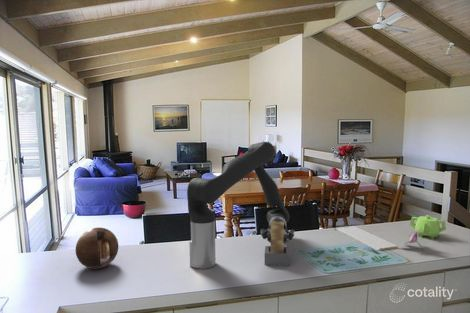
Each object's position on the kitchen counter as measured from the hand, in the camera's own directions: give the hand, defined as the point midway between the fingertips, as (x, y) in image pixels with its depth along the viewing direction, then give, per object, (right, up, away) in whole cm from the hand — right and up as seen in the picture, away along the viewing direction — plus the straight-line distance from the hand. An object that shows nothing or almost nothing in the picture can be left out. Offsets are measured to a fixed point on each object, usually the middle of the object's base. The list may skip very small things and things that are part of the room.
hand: (277, 240), depth 136 cm
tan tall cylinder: (0, -7, +3) cm, 7 cm away
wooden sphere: (-68, -10, -1) cm, 68 cm away
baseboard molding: (+44, -7, +30) cm, 54 cm away
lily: (+60, -8, +17) cm, 63 cm away
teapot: (+75, -6, +33) cm, 82 cm away
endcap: (0, -9, +3) cm, 10 cm away
